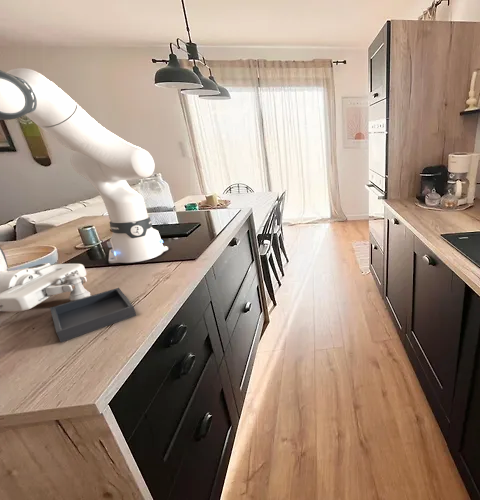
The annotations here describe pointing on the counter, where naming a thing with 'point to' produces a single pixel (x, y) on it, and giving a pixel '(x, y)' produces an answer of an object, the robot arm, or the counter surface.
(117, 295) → the tray
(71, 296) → the rook chess piece
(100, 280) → the counter surface
